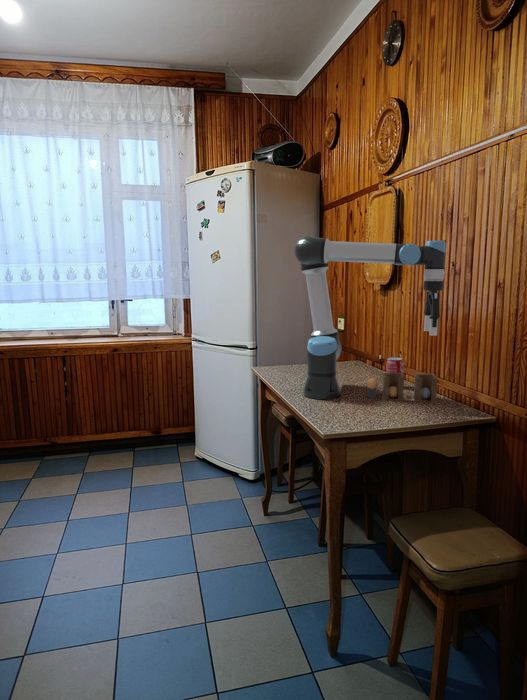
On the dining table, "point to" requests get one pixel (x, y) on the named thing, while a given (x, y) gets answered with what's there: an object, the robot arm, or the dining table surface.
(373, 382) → the brown ball
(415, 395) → the rack
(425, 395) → the grey ball
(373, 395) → the rubber stand
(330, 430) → the dining table surface
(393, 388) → the brown ball in tube
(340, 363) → the dining table surface
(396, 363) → the soda can
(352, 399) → the dining table surface
